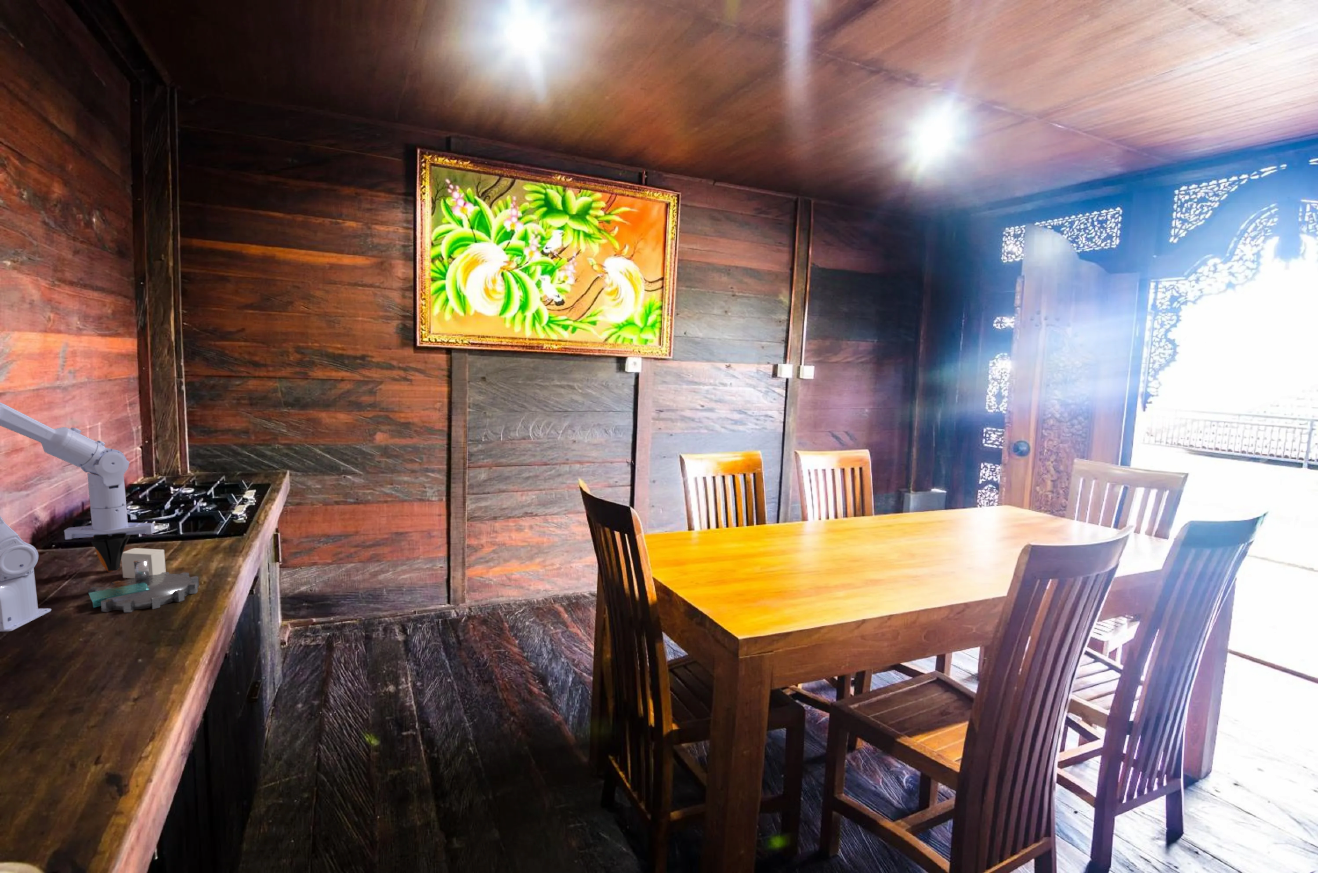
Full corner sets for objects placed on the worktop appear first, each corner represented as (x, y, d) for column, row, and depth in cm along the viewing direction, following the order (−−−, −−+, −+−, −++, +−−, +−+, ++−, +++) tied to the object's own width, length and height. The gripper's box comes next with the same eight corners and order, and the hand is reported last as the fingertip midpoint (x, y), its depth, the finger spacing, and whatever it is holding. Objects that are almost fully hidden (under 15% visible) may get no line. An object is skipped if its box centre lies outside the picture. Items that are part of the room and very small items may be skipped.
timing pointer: (107, 593, 140) (107, 587, 139) (101, 595, 138) (101, 590, 138) (94, 592, 140) (93, 586, 140) (88, 594, 138) (87, 589, 138)
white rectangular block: (166, 575, 151) (164, 549, 150) (153, 581, 147) (151, 554, 146) (136, 573, 151) (134, 548, 150) (123, 579, 148) (120, 552, 147)
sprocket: (166, 612, 130) (164, 582, 130) (70, 613, 129) (67, 583, 128) (216, 580, 148) (214, 554, 147) (131, 581, 146) (129, 554, 145)
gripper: (157, 499, 144) (162, 560, 146) (73, 503, 139) (79, 566, 141) (145, 507, 137) (150, 570, 139) (57, 511, 132) (63, 577, 134)
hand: (114, 569), depth 140 cm, fingers closed
